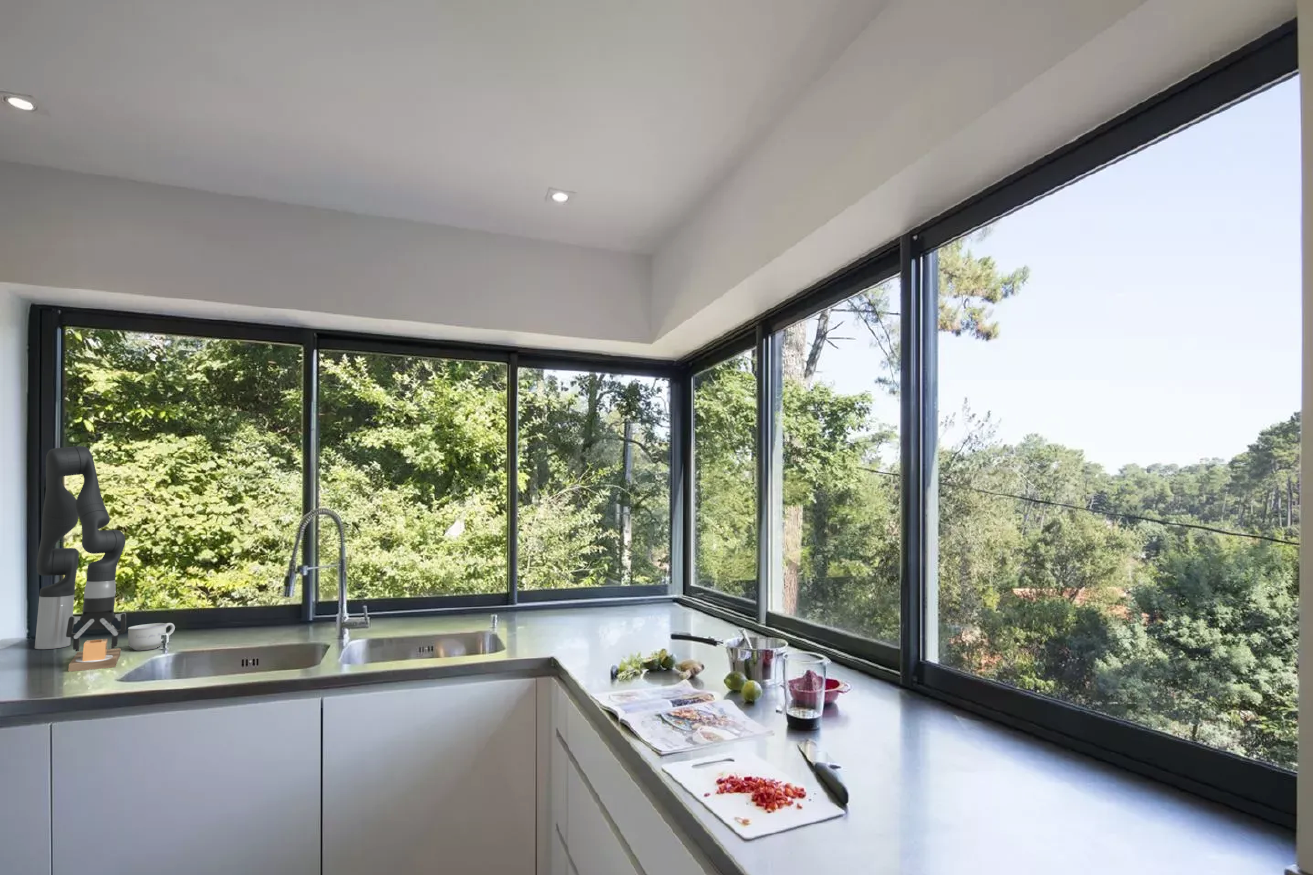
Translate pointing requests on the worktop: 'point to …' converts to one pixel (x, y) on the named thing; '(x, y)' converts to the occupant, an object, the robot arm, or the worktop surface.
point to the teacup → (147, 635)
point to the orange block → (95, 649)
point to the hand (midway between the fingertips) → (95, 649)
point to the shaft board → (95, 661)
